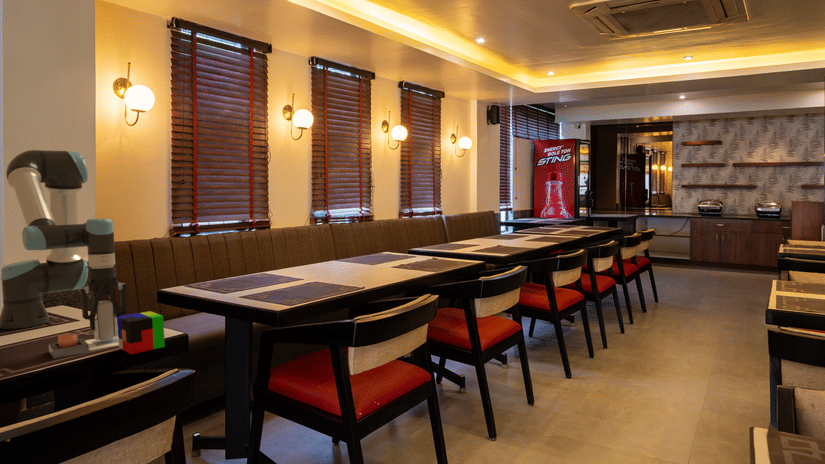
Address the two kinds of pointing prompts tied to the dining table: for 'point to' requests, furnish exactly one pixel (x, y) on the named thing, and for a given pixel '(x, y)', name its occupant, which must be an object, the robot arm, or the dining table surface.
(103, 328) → the beverage can
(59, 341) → the button
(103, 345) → the white flat block
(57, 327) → the dining table surface
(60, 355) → the button collar
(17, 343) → the dining table surface
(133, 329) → the puzzle toy
